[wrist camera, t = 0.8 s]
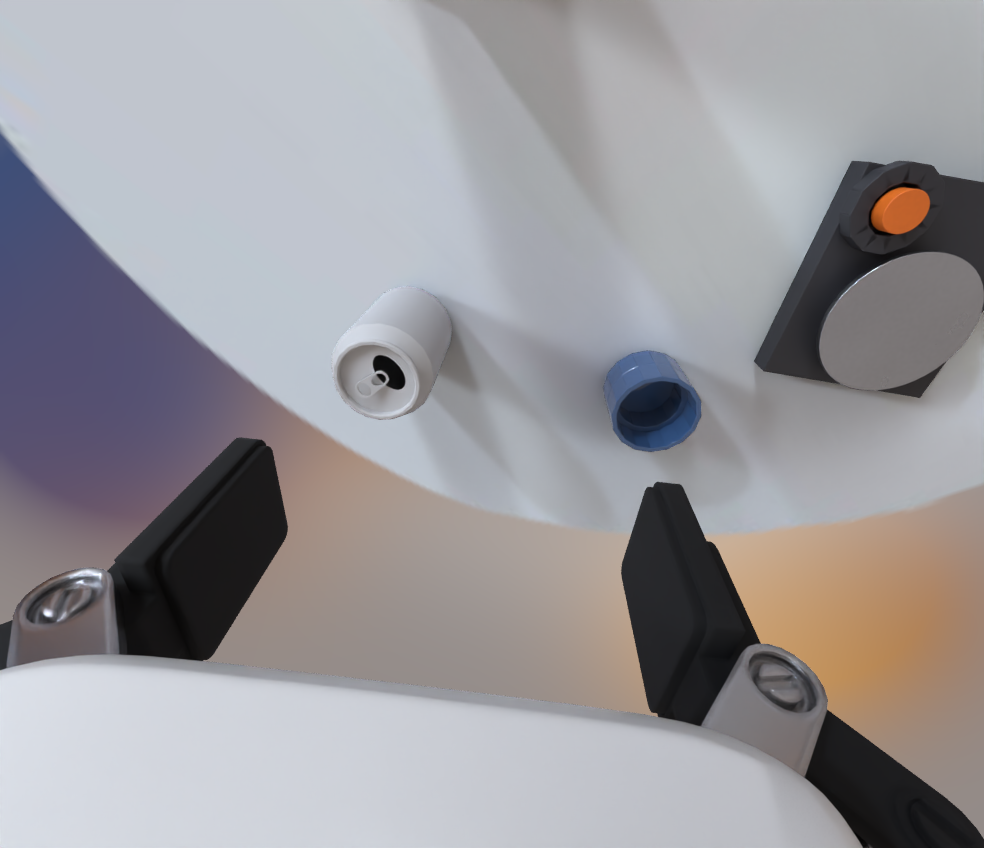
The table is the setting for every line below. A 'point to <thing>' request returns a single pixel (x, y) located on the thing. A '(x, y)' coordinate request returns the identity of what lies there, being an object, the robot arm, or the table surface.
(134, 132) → the table surface
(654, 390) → the blue cup
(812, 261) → the scale
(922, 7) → the table surface
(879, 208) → the button
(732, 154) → the table surface
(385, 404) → the can
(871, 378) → the pan
